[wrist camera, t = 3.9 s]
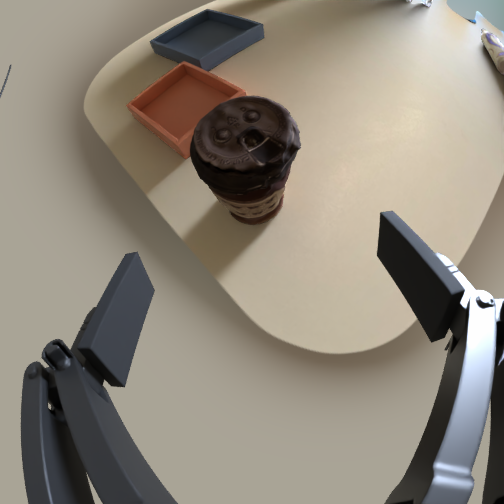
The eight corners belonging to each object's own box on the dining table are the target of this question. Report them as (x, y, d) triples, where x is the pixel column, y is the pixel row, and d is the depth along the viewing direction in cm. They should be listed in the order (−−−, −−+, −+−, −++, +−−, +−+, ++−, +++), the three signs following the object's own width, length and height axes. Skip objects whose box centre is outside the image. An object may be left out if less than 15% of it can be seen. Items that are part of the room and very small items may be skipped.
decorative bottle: (511, 82, 32) (521, 68, 26) (492, 67, 33) (501, 53, 27) (489, 41, 36) (495, 29, 30) (472, 30, 38) (478, 17, 31)
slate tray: (154, 53, 38) (149, 41, 35) (209, 20, 40) (207, 8, 36) (203, 74, 35) (199, 60, 32) (264, 37, 36) (263, 24, 33)
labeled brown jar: (295, 236, 29) (308, 181, 16) (217, 239, 29) (176, 189, 17) (290, 164, 30) (295, 85, 18) (219, 168, 31) (189, 93, 18)
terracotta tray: (134, 118, 34) (125, 105, 31) (189, 74, 35) (183, 60, 32) (186, 159, 32) (177, 145, 29) (248, 106, 33) (245, 90, 30)
